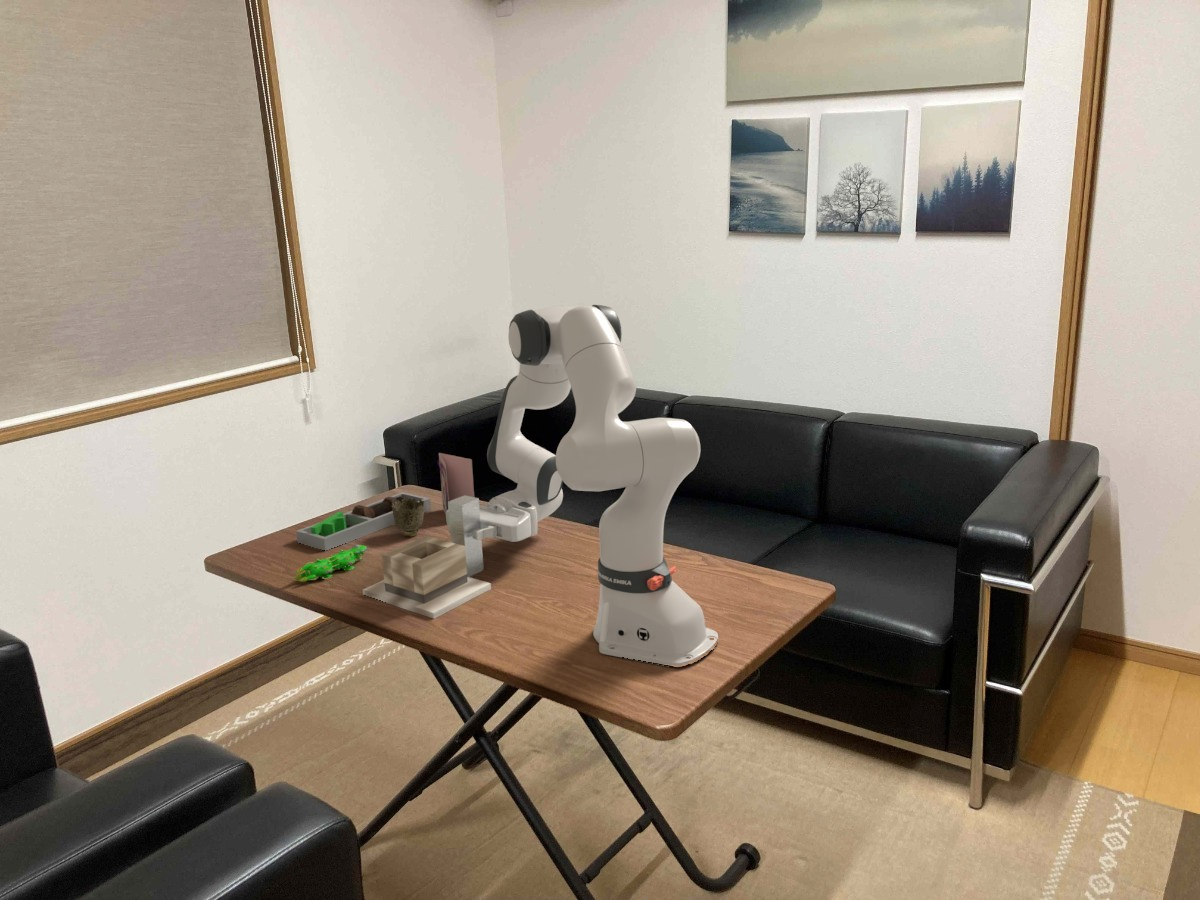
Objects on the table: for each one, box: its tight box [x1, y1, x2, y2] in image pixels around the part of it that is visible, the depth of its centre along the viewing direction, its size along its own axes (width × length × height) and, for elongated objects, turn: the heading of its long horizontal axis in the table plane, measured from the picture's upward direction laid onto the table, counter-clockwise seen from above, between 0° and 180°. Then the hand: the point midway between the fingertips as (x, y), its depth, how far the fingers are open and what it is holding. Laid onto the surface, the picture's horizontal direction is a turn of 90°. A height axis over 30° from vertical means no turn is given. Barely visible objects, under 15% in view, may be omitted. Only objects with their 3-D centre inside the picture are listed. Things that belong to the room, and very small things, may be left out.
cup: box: [391, 498, 425, 538], centre depth 219 cm, size 8×7×8 cm
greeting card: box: [436, 452, 475, 515], centre depth 230 cm, size 11×7×15 cm, turn 18°
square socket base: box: [362, 535, 492, 620], centre depth 187 cm, size 20×16×9 cm
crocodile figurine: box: [293, 544, 368, 583], centre depth 200 cm, size 7×18×4 cm, turn 142°
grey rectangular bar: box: [448, 495, 485, 578], centre depth 195 cm, size 4×5×16 cm
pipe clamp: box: [311, 511, 347, 537], centre depth 219 cm, size 11×4×5 cm, turn 161°
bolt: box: [351, 496, 406, 519], centre depth 232 cm, size 6×5×15 cm
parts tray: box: [295, 491, 432, 552], centre depth 227 cm, size 10×33×3 cm, turn 144°
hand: (462, 533), depth 194 cm, fingers open, 5 cm apart
